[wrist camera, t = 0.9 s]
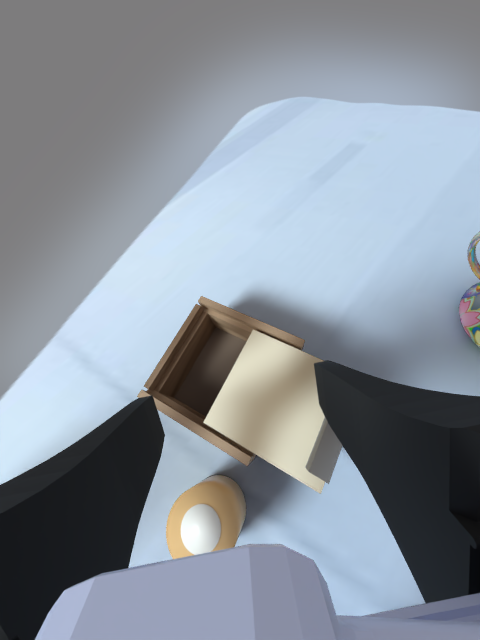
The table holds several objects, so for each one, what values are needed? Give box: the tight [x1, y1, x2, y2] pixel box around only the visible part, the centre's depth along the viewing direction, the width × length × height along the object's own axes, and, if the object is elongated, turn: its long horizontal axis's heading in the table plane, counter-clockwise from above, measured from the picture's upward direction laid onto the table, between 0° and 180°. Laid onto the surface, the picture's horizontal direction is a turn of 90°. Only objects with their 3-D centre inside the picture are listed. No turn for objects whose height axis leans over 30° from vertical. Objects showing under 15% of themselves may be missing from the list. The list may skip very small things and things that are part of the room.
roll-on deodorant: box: [166, 475, 246, 559], centre depth 18 cm, size 5×5×5 cm
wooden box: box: [137, 296, 305, 466], centre depth 22 cm, size 10×10×5 cm
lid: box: [203, 330, 342, 494], centre depth 18 cm, size 9×8×3 cm
